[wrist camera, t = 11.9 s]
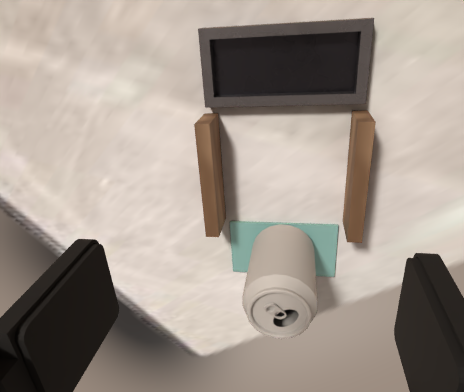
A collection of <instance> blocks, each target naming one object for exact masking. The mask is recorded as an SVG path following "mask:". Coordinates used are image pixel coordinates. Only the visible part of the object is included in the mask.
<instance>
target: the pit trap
mask: <svg viewBox="0 0 464 392" xmlns="http://www.w3.org/2000/svg"><path fill="white" fill-rule="evenodd" d="M373 25H374V18H362V19H346V20H329V21H312V22H296V23H279V24H263V25H246V26H229V27H213V28H200V29H198V32H199V43H200V55H201V66H202V77H203V88H204V99H205V107H248V106H293V105H338V104H366V95H367V85H368V75H369V65H370V55H371V45H372V35H373Z"/></svg>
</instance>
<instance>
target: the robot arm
mask: <svg viewBox="0 0 464 392" xmlns="http://www.w3.org/2000/svg"><path fill="white" fill-rule="evenodd" d="M118 313H119V305H118V302H117V298H116V294H115V290H114V286H113V282H112V279H111V275H110V271H109V267H108V263H107V259H106V255H105V252H104V248H103V246H102V245H101V244H99V243H98V241H97V240H92V239H78V240H76V241H75V242H74V243H73V244H72V245H71V246H70V247H69V248H68V249H67V250H66V251H65V252H64V253H63V254H62V255H61V256H60V257H59V258H58V259H57V260H56V262H54V264H52V265H51V266H50V268H49V269H48V270H47V271H46V272H45V273H44V274H43V275H42V276H41V277H40V278H39V279H38V280H37V281H36V282H35V283H34V284H33V285H32V286H31V287H30V288H29V289H28V290H27V291H26V292H25V293H24V294H23V295H22V296H21V297H20V298H19V299H18V300H17V301H16V302H15V303H14V304H13V305H12V307H10V308H9V310H7V311H6V313H5V314H4V315H3V316H2V317H1V318H0V392H73V391H74V389H75V387H76V385H77V384H78V382H79V381H80V379H81V377H82V376H83V374H84V372H85V370H86V369H87V367H88V365H89V364H90V362H91V360H92V359H93V357H94V355H95V354H96V352H97V350H98V349H99V347H100V345H101V344H102V342H103V340H104V339H105V337H106V335H107V334H108V332H109V330H110V329H111V327H112V325H113V324H114V322H115V320H116V319H117V317H118ZM394 335H395V341H396V345H397V348H398V351H399V355H400V359H401V362H402V366H403V369H404V373H405V376H406V380H407V383H408V387H409V390H410V392H464V298H463V296H462V295H461V292H460V291H459V289H458V287H457V285H456V284H455V282H454V280H453V278H452V277H451V275H450V273H449V271H448V269H447V268H446V266H445V264H444V262H443V261H442V259H441V257H440V256H439V255H438V254H425V253H416V254H415V255H414V257H413V258H408V259H407V261H406V266H405V272H404V277H403V283H402V289H401V294H400V300H399V306H398V311H397V317H396V322H395V328H394Z"/></svg>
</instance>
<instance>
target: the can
mask: <svg viewBox="0 0 464 392" xmlns="http://www.w3.org/2000/svg"><path fill="white" fill-rule="evenodd" d="M317 305H318V302H317V286H316V269H315V253H314V247H313V243H312V241H311V239H310V238H309V237H308V235H307V234H306V233H305V232H303V231H302V230H300V229H299V228H296V227H293V226H290V225H280V224H279V225H274V226H270V227H268V228H266V229H264V230H262V231H261V232H260V233H259V234H258V235H257V237H256V238H255V241H254V243H253V247H252V252H251V257H250V262H249V267H248V272H247V277H246V282H245V287H244V292H243V307H244V310H245V312H246V314H247V317H248V319H249V322H250V323H251V325H252V326H253V327H254V328H255V329H256V330H258V331H259V332H261V333H262V334H264V335H267V336H270V337H273V338H292V337H294V336H297V335H299V334H301V333H302V332H304V331H305V330H306V329H307V328H308V326H309V324H310V323H311V321H312V320H313V318H314V317H315V315H316V313H317Z"/></svg>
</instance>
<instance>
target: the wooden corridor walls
mask: <svg viewBox="0 0 464 392" xmlns="http://www.w3.org/2000/svg"><path fill="white" fill-rule="evenodd" d="M194 126H195V136H196V145H197V155H198V164H199V174H200V184H201V193H202V203H203V212H204V222H205V231H206V237H219V235H220V233H221V230H222V227H223V224H224V221H225V219H226V212H225V199H224V185H223V172H222V159H221V145H220V132H219V118H218V113H209V114H204V115H203V116H202V117H201V118H200V119H199V120H198V121H197V122H196V123H195V124H194ZM374 131H375V121H374V119H373V118H372V116H371V115H370V113H369V112H368V111H367V110H365V111H352V118H351V129H350V141H349V153H348V165H347V177H346V188H345V200H344V212H343V225H344V230H345V234H346V239H347V242H357V243H362V236H363V228H364V219H365V210H366V201H367V193H368V184H369V175H370V166H371V157H372V149H373V140H374Z"/></svg>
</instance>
